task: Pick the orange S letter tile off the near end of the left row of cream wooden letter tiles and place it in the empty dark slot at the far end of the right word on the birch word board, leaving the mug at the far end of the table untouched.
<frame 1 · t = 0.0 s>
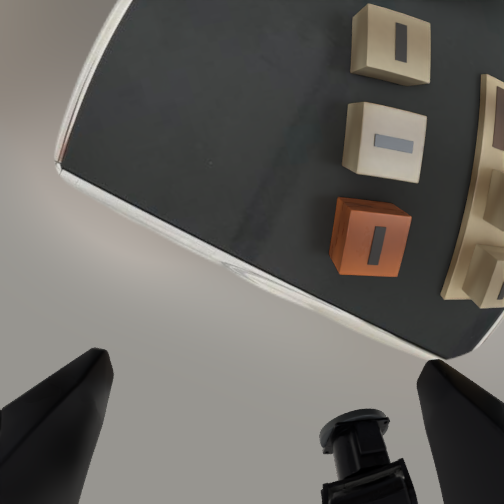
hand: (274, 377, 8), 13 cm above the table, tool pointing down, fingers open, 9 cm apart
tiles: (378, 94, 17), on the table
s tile: (361, 228, 20), on the table
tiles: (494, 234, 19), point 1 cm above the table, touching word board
word board: (497, 195, 19), on the table
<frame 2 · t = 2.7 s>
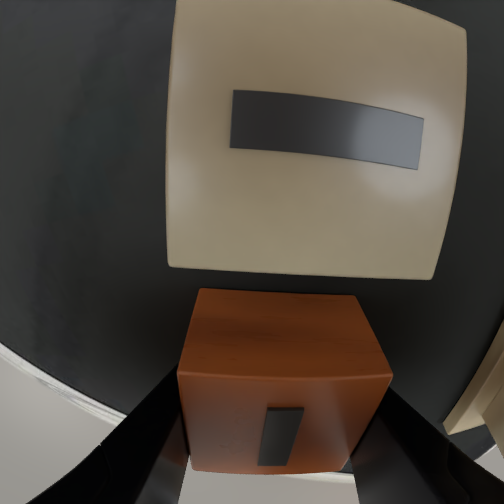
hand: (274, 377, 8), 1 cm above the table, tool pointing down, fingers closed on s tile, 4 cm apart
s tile: (271, 351, 9), on the table, touching gripper
when the fingers open (2 cm above the table, at t = 7.8 s): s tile stays where it is, resting on word board.
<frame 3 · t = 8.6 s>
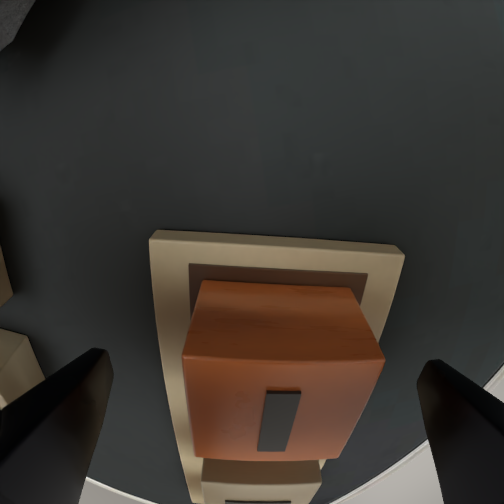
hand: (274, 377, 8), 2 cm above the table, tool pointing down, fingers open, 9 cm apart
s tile: (271, 341, 9), point 1 cm above the table, touching word board
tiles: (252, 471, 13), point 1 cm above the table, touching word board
word board: (256, 429, 12), on the table
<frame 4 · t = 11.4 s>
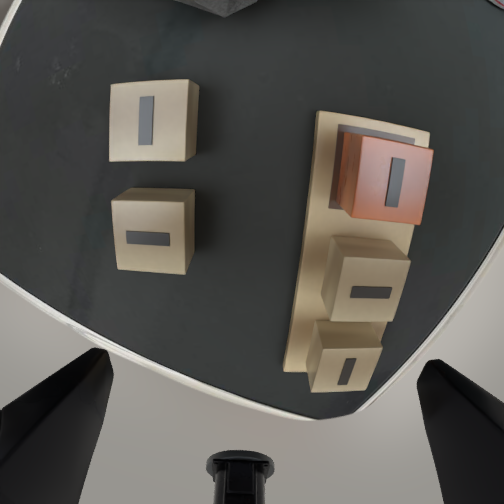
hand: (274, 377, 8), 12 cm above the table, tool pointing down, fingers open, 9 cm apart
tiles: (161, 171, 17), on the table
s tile: (373, 171, 16), point 1 cm above the table, touching word board
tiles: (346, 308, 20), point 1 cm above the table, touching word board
word board: (352, 262, 20), on the table
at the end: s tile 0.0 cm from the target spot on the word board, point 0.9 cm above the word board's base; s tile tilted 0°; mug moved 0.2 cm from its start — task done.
